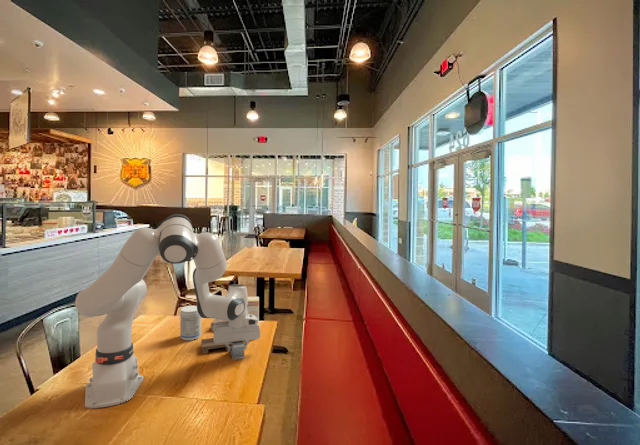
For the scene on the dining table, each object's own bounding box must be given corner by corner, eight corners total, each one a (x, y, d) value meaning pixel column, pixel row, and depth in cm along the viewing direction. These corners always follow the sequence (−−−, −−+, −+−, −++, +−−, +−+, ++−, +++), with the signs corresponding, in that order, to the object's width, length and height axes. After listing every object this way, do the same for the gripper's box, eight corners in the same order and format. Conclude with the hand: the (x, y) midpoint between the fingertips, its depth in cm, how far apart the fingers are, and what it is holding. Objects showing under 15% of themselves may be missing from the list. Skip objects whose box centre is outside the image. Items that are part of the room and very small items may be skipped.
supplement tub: (182, 333, 179) (182, 305, 178) (202, 333, 180) (202, 304, 179) (178, 341, 169) (178, 311, 168) (198, 340, 171) (198, 311, 170)
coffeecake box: (258, 333, 182) (259, 296, 181) (258, 338, 175) (258, 300, 174) (229, 333, 180) (229, 296, 179) (227, 339, 173) (227, 300, 172)
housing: (244, 358, 154) (244, 344, 154) (232, 360, 152) (232, 345, 152) (241, 349, 163) (241, 336, 162) (230, 351, 161) (230, 337, 160)
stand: (232, 349, 162) (232, 343, 162) (202, 353, 157) (202, 347, 157) (229, 342, 170) (229, 336, 170) (201, 345, 166) (201, 339, 165)
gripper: (213, 325, 149) (213, 356, 151) (261, 320, 157) (260, 350, 158) (212, 319, 155) (212, 350, 156) (258, 315, 163) (258, 344, 164)
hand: (237, 350), depth 157 cm, fingers closed on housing, 5 cm apart
